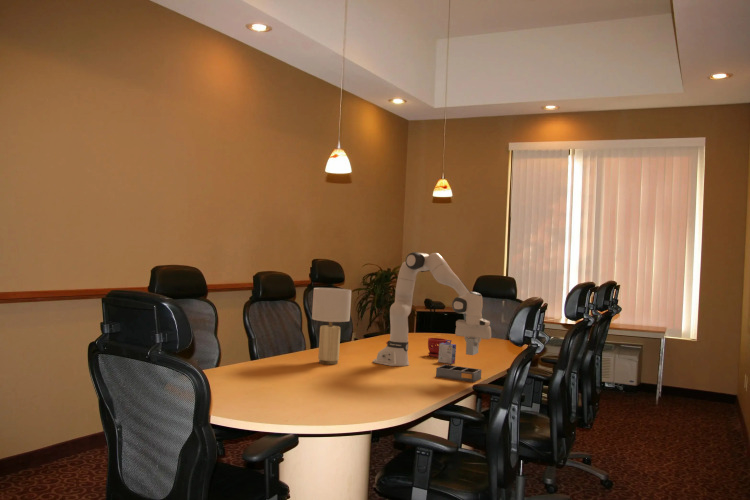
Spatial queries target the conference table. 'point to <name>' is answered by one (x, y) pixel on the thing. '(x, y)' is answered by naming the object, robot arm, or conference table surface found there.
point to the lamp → (330, 320)
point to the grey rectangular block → (471, 346)
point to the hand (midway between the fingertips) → (472, 345)
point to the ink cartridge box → (447, 352)
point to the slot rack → (458, 373)
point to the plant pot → (432, 348)
